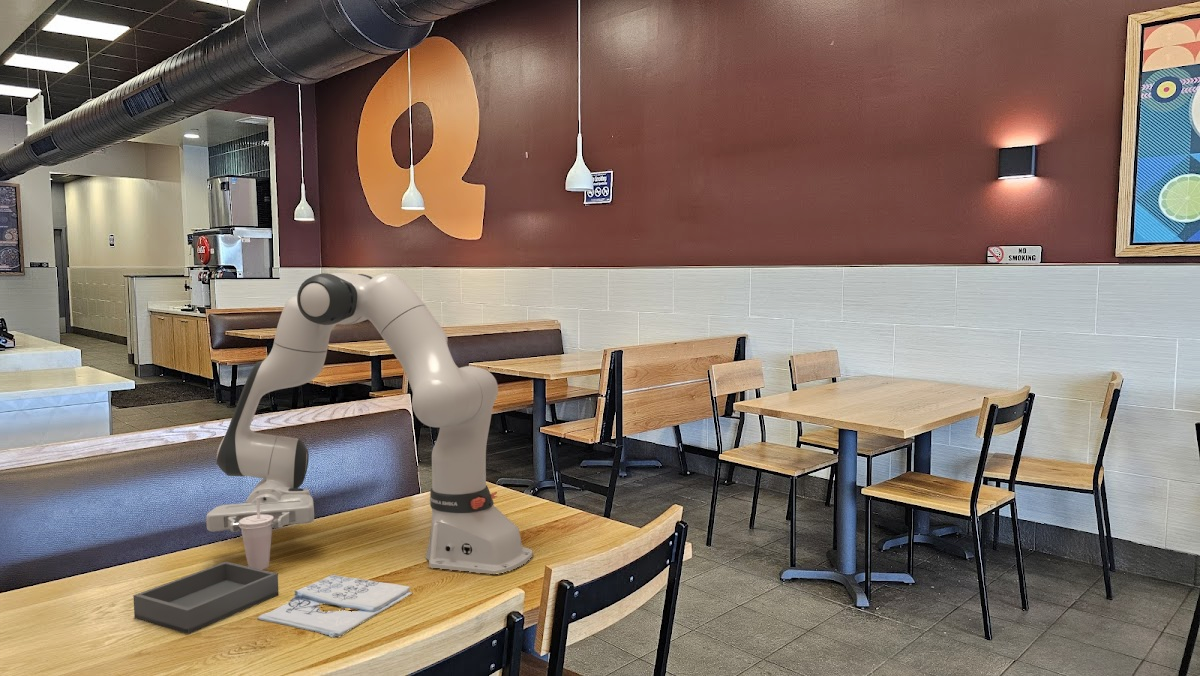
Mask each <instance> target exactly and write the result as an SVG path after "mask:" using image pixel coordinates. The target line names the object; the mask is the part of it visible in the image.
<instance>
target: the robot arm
mask: <svg viewBox="0 0 1200 676" xmlns="http://www.w3.org/2000/svg"><path fill="white" fill-rule="evenodd" d="M368 321H369V322H370V323H372V325H373V327H374V328H375V329H376V330H377V332H378V333H379V334H380V336H381V337H382V339H383V341H384V342H385V343H386V345H387V347H388V348H389V349H390V351H391V352H392V353H393V355H394V356H395V358H396V359H397V360H398V362H399V363H400V366H401V367H402V369H403V371H404V373H405V375H406V378H407V380H408V383H409V386H410V389H411V392H412V399H411V404H412V405H411V406H412V411H413V412H414V415H415V417H416V418H417V419H418V421H420V423H421V424H423V425H425V426H427V427H431V428H439V430H438V435H437V438H436V440H435V441H436V442H435V443H434V445H433V448H432V449H431V450H432V451H431V481H432V482H431V486H432V487H431V489H430V490H429V491H430V493H429V496H430V497H429V502H430V503H429V504H430V508H431V513H432V514H431V526H430V533H429V539H428V545H427V548H426V553H425V559H426V558H427V559H428V560H429V561H428V560H427V559H426V560H427V561H428V567H429V568H430V567H431V568H430V569H433V568H440V569H439V570H442V569H450V570H449V571H452V570H461V571H469V572H468V573H471V572H478V573H477V574H480V573H490V574H491V573H493V574H496V573H502V572H505V571H509V570H512V569H515V568H517V567H519V566H520V567H522V566H524V565H525V564H527V563H528V562H529V561H531V559H532V558H533V556H534V554H533V553H534V552H533V550H532V549H531V548H529V547H526V546H523V545H522V537H521V533H520V530H519V526H517V525H516V524H515V523H514V522H513V521H512V520H510V519H509V518H508V517H507V516H506V515H505V514H504V513H503V512H502V511H501V510H500V509H498V508H497V506H495V505H494V504H495V503H494V500H493V499H495V498H497V497H498V495H497V494H498V491H494V492H492V493H491V491H490V489H489V487H488V485H487V474H486V473H487V467H486V466H487V461H486V460H487V458H486V457H487V456H486V455H487V443H488V438H489V437H488V436H489V432H490V425H491V419H492V415H493V414H492V412H493V408H494V405H495V402H496V400H497V398H498V393H499V386H498V381H497V379H496V377H495V376H494V375H493V374H492V373H491V372H490V371H488V370H487V369H485V368H482V367H479V366H477V367H476V366H472V365H465V366H461V367H459V366H458V365H457V364H456V363H455V361H454V359H453V356H452V353H451V351H450V348H449V346H448V341H449V339H448V334H447V333H446V332H445V330H444V329H443V328H442V326H441V325H440V323H439V322H438V321H437V319H436V318H435V316H434V315H433V313H431V311H430V310H429V309H428V307H427V305H426V304H425V303H424V302H423V300H422V299H421V297H419V295H418V294H417V293H416V292H415V291H414V290H413V289H412V287H410V286H409V285H408V284H407V283H406V281H404V280H403V278H401V277H400V276H398V275H397V274H395V273H393V272H392V273H390V272H386V273H385V272H384V273H380V274H378V275H375V276H374V277H372V276H370V275H367V274H363V273H351V272H350V273H349V272H343V271H342V272H341V271H340V272H331V273H326V272H325V273H318V274H314V275H313V276H311V277H308V278H306V279H305V280H304V281H303V282H302V283H301V284H300V286H299V288H298V291H297V295H294V296H291V297H290V298H289V299H288V300H287V301H286V302H285V304H284V306H283V309H282V311H281V314H280V316H279V320H278V323H277V326H276V330H275V334H274V335H275V336H274V340H273V345H272V348H271V351H270V352H269V353H268V355H267V357H266V358H264V359H263V360H260V361H256V363H255V364H254V366H253V367H252V368H251V370H250V372H249V375H248V376H247V379H246V381H245V383H244V386H243V387H242V391H241V394H240V396H239V398H238V402H237V404H236V406H235V409H234V412H233V414H232V416H231V419H230V423H229V425H228V427H227V429H226V433H225V434H224V436H223V438H222V440H221V441H220V443H219V445H218V448H217V450H216V451H217V452H216V464H217V466H218V467H219V469H220V470H221V471H222V472H223V473H224V474H225V475H226V476H229V477H249V478H250V477H251V478H257V479H258V478H259V479H261V480H260V481H259V482H258V483H257V484H256V485H255V487H254V489H253V490H252V491H251V493H250V494H249V495H248V496H247V498H246V500H245V502H243V503H242V502H241V503H240V502H239V503H230V504H222V505H218V506H216V507H214V508H213V509H212V510H209V512H207V514H206V518H205V519H206V520H205V521H206V529H207V531H209V532H222V531H223V532H224V531H230V532H231V533H239V532H240V530H241V528H240V527H239V521H240V520H241V519H243V518H245V517H248V516H253V515H257V504H256V497H259V502H260V515H271V516H273V517H274V519H273V524H272V530H273V529H274V530H275V529H281V528H282V527H284V526H291V525H301V524H302V525H303V524H310V523H313V522H314V521H315V505H314V498H313V497H312V495H311V493H310V489H309V488H301V486H302V485H303V483H304V481H305V478H306V474H307V472H308V466H309V450H308V448H307V446H306V444H305V443H304V442H303V440H302V439H300V438H296V437H292V436H291V437H290V436H284V435H275V434H268V433H262V432H255V431H253V430H251V425H252V422H253V420H254V417H255V415H256V411H257V408H258V406H259V403H260V401H261V399H262V397H263V396H265V395H266V394H269V393H271V392H274V391H279V390H283V389H288V388H295V387H300V386H302V385H306V384H307V383H309V382H311V381H313V380H314V379H316V378H317V377H318V376H319V375H320V373H322V371H323V367H324V365H325V361H326V358H327V353H328V348H329V341H330V337H331V333H332V332H333V331H332V330H333V329H334V328H335V327H336V326H337V325H343V326H344V325H345V326H347V325H348V326H349V325H355V324H358V323H359V324H360V323H366V322H368ZM532 555H533V556H532ZM531 557H532V558H531ZM530 558H531V559H530ZM528 560H529V561H528ZM527 561H528V562H527ZM526 562H527V563H526ZM523 564H524V565H523ZM521 565H522V566H521ZM520 567H519V568H520ZM517 569H518V568H517ZM515 570H516V569H515ZM461 571H460V572H461ZM512 571H513V570H512ZM509 572H510V571H509ZM490 574H489V575H490Z"/></svg>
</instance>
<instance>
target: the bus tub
mask: <svg viewBox="0 0 1200 676" xmlns="http://www.w3.org/2000/svg"><path fill="white" fill-rule="evenodd" d="M279 593H280V592H279V573H276V572H272V571H268V570H266V569H262V570H260V569H256V568H252V567H248V565H247V566H246V565H242V564H239V563H234V562H231V561H223V562H221V563H219V564H216V565H212V566H210V567H207V568H203V569H202V570H199V571H196V572H194V573H191V574H188V575H185V576H183V577H180V578H177V579H175V580H172V581H169V582H167V583H164V584H162V585H161V584H160V585H158V586H155V587H153V588H150V589H148V590H145V591H142V592H141V591H140V592H139V593H136V594H133V596H132V597H133V610H134V611H133V615H134V617H133V618H134V619H135V620H138V621H142V622H147V623H149V624H153V625H156V626H158V627H162V628H166V629H169V630H173V631H175V632H178V633H181V634H186V635H190V634H193V633H195V632H198V631H200V630H202V629H205V628H206V627H209V626H210V625H213V624H216V623H218V622H220V621H222V620H225V619H227V618H230V617H232V616H234V615H236V614H238V613H241V612H243V611H246V610H247V609H249V608H252V607H254V606H257V605H259V604H261V603H264V602H266V601H268V600H271V599H272V598H274V597H277V596H279Z"/></svg>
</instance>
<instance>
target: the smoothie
mask: <svg viewBox="0 0 1200 676" xmlns="http://www.w3.org/2000/svg"><path fill="white" fill-rule="evenodd" d="M256 504H257V515H253V516H248V517H245V518H243V519H241V520H240V521H239V527H240V528H241V529H240V530H241V536H242V540H243V546H244V552H245V557H246V562H247V567H252V568H256V569H260V570H266V569H267V568H269V566H270V558H271V547H272V545H271V544H272V532H273V528H272V524H273V519H274V517H273V516H271V515H260V502H259V497H256Z"/></svg>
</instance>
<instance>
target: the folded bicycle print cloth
mask: <svg viewBox="0 0 1200 676" xmlns="http://www.w3.org/2000/svg"><path fill="white" fill-rule="evenodd" d="M410 589H411V586H407V585H402V584H398V583H397V584H396V583H392V582H391V583H390V582H381V581H375V580H369V579H364V578H356V577H347V576H341V575H337V574H331V575H329V576H326V577H324V578H323V579H319V580H318V581H315V582H313V583H311V584H308V585H306V586H304V587H302V588H299V589H297V590H294V596H293V598H291V599H290V600H289V602H287V603H284V604H282V605H280V606H278V607H277V608H274V609H273V610H270V611H269V612H265V613H263V614H260V615H259V616H257V620H258V621H262V622H263V621H264V622H269V623H274V624H279V625H283V626H286V627H287V626H288V627H292V628H297V629H301V630H304V629H305V631H309V630H310V632H314V631H315V632H314V633H318V632H319V634H320V633H321V635H323V634H325V635H324V636H327V635H329V636H328V637H330V638H331V637H333V638H336V637H335V636H338V637H337V638H339V636H341V635H343V634H344V633H346V632H347V631H348V630H350V629H352V628H353V627H355V626H357V625H359V624H360V623H362V622H363V621H365V620H367V619H369V618H371V617H372V618H374V617H375V616H374V615H376V614H378V613H380V612H381V613H383V612H384V611H383V610H385V609H387V608H388V609H390V608H391V607H390V606H392V605H394V604H395V603H397V602H399V601H400V600H402V599H403V598H405V597H407V596H408V595H410V594H412V593H413V592H411V591H410ZM319 603H320V605H321V603H322V604H324V603H325V604H327V605H328V606H335V607H336V606H337V607H338V608H339V607H343V608H342V609H344V608H350V609H358V611H352V612H351V611H345V610H344V611H343V610H342V611H340V609H338V610H339V611H328V612H327V611H326V612H325V611H324V612H323V611H321V610H320V608H319V606H320V605H319ZM399 603H400V602H399ZM397 604H398V603H397ZM395 605H396V604H395ZM395 605H394V606H395ZM317 607H318V608H317ZM389 607H390V608H389ZM392 607H393V606H392ZM388 609H387V610H388ZM319 610H320V611H319ZM382 611H383V612H382ZM385 611H386V610H385ZM381 613H380V614H381ZM378 615H379V614H378ZM373 616H374V617H373ZM376 616H377V615H376ZM372 618H371V619H372ZM369 620H370V619H369ZM367 621H368V620H367ZM365 622H366V621H365ZM362 624H363V623H362ZM360 625H361V624H360ZM360 625H359V626H360ZM357 627H358V626H357ZM355 628H356V627H355ZM352 630H353V629H352ZM350 631H351V630H350ZM347 633H348V632H347ZM347 633H346V634H347ZM344 635H345V634H344ZM344 635H343V636H344ZM341 637H342V636H341Z"/></svg>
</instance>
